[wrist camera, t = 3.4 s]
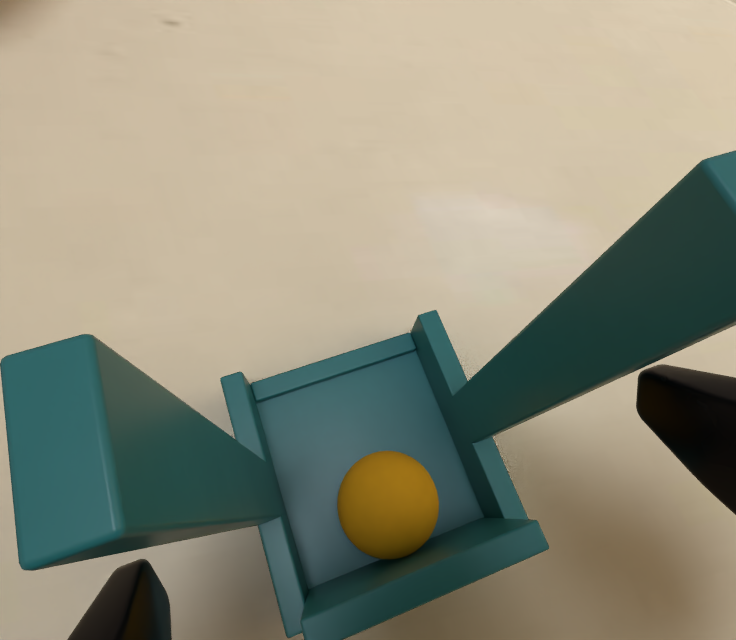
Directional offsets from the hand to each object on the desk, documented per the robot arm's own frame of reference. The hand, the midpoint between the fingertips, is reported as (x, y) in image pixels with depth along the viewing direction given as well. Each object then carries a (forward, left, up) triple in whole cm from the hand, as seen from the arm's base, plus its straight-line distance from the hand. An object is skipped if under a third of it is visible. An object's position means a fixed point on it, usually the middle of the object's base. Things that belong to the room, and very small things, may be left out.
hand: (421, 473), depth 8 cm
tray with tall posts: (+1, 0, -9) cm, 9 cm away
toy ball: (0, 0, -7) cm, 7 cm away
